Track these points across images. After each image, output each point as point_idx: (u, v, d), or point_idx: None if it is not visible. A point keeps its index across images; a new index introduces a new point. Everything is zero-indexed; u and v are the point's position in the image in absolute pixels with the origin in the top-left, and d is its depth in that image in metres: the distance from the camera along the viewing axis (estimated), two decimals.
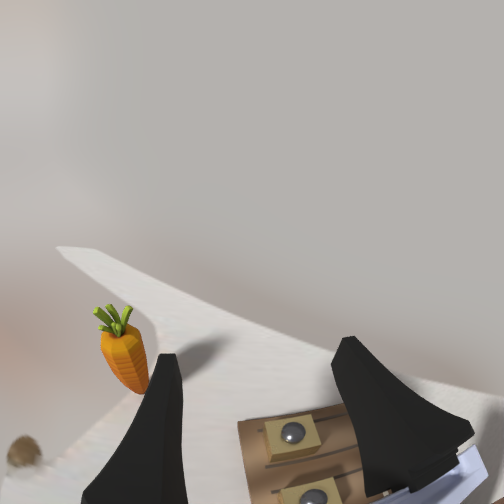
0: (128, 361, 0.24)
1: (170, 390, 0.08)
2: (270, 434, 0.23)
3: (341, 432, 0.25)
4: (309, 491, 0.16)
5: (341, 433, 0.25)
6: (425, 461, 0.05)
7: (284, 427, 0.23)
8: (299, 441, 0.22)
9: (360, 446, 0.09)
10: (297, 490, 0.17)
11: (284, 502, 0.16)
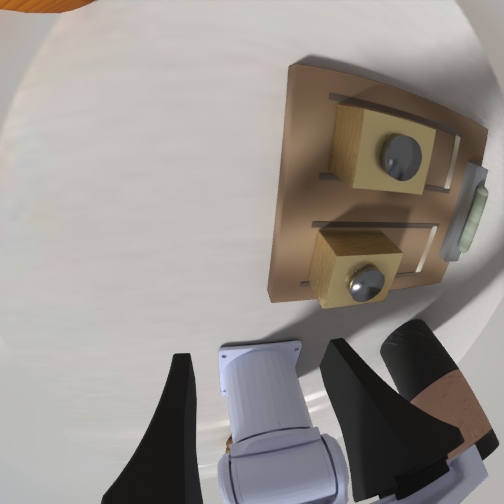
0: None
1: (187, 390, 0.08)
2: (365, 141, 0.11)
3: (436, 158, 0.16)
4: (370, 274, 0.15)
5: (435, 160, 0.16)
6: (411, 469, 0.05)
7: (396, 143, 0.11)
8: None
9: (348, 450, 0.09)
10: (356, 262, 0.15)
11: (331, 275, 0.16)
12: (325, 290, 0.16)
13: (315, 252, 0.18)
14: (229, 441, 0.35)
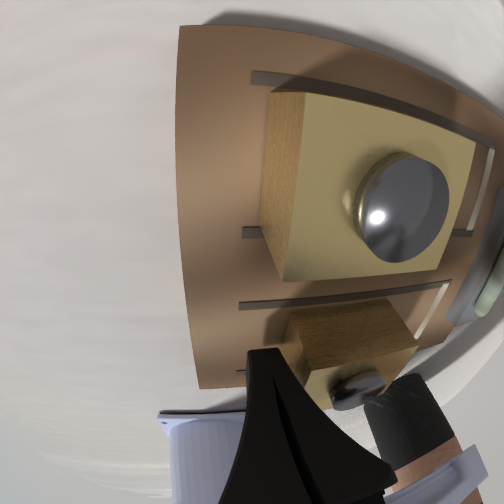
0: None
1: (273, 383, 0.09)
2: (310, 177, 0.05)
3: None
4: (364, 385, 0.09)
5: None
6: None
7: (392, 181, 0.05)
8: None
9: None
10: (344, 371, 0.09)
11: (303, 387, 0.09)
12: None
13: (286, 339, 0.12)
14: None
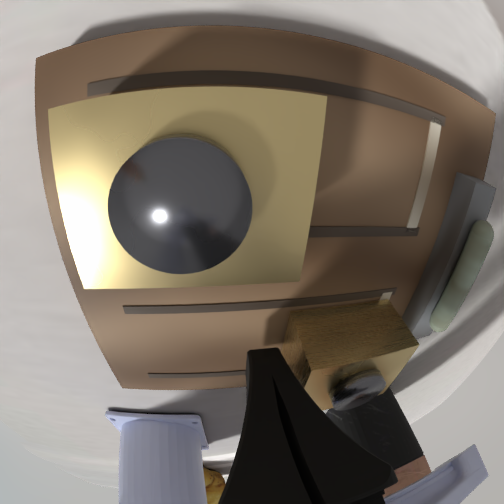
0: None
1: (273, 383, 0.09)
2: (67, 187, 0.04)
3: (384, 171, 0.08)
4: (364, 385, 0.09)
5: (382, 175, 0.08)
6: None
7: (126, 175, 0.04)
8: None
9: None
10: (344, 371, 0.09)
11: (303, 387, 0.09)
12: None
13: (286, 338, 0.12)
14: None
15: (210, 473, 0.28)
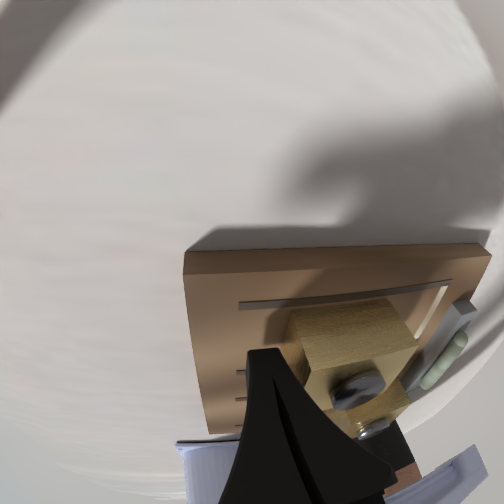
0: None
1: (273, 384, 0.09)
2: (308, 391, 0.09)
3: (404, 320, 0.13)
4: (378, 427, 0.14)
5: None
6: None
7: (349, 393, 0.09)
8: None
9: None
10: (367, 422, 0.14)
11: (343, 430, 0.14)
12: None
13: None
14: None
15: None
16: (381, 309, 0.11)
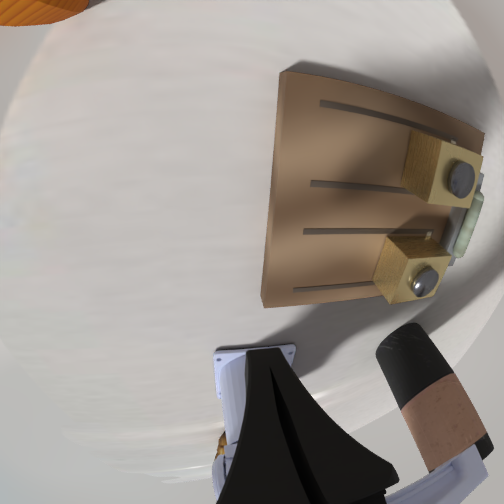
0: None
1: (271, 384, 0.09)
2: (439, 166, 0.13)
3: None
4: (430, 273, 0.16)
5: None
6: None
7: (460, 169, 0.12)
8: None
9: None
10: (420, 263, 0.16)
11: (401, 275, 0.17)
12: (393, 288, 0.18)
13: (382, 255, 0.19)
14: (223, 438, 0.34)
15: None
16: (454, 144, 0.14)
